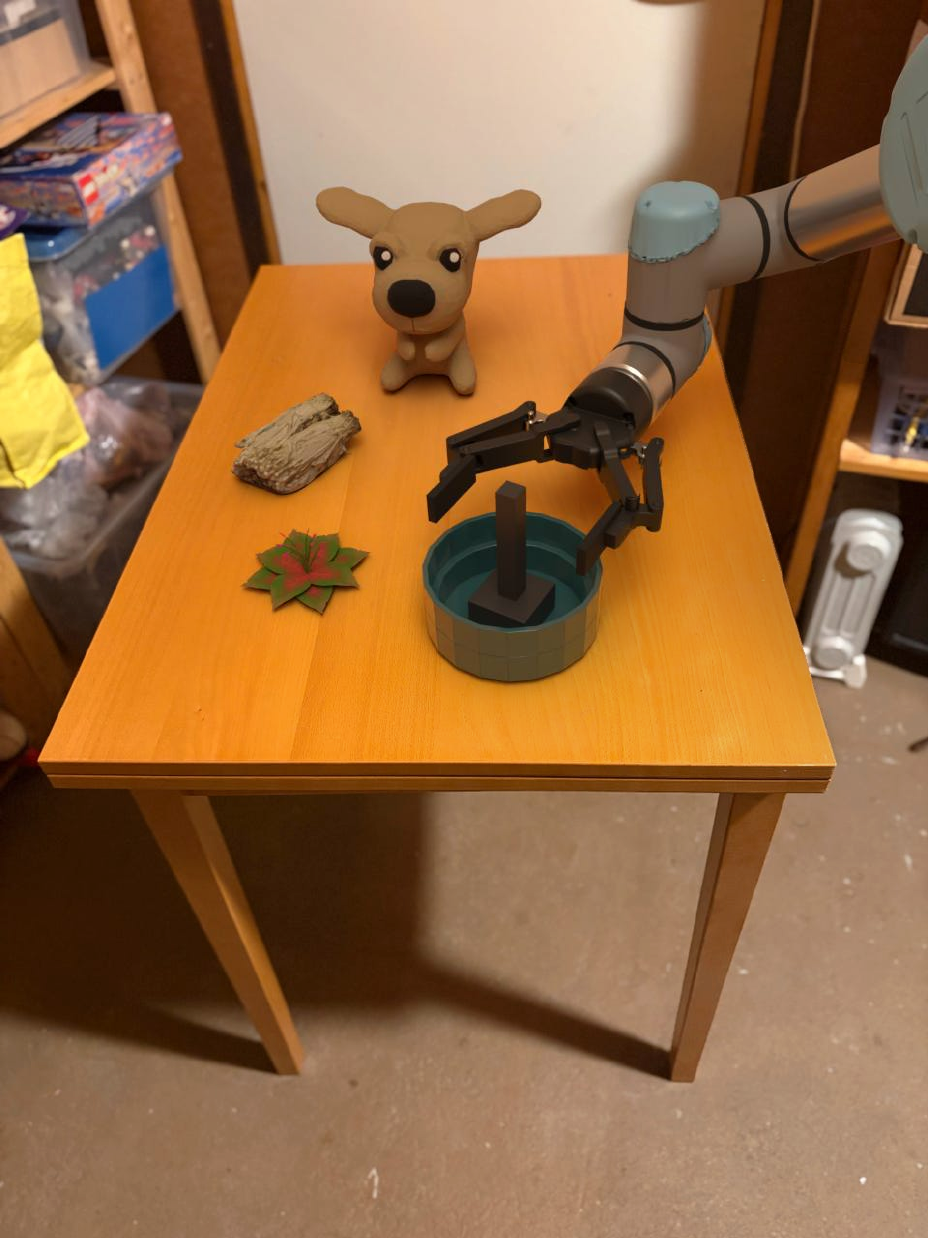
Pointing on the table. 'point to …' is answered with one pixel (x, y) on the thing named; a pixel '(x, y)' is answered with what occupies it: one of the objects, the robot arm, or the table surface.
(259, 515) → the table surface
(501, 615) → the post on square base
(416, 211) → the toy
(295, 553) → the lily flower
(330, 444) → the weathered wood chunk
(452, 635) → the bowl
